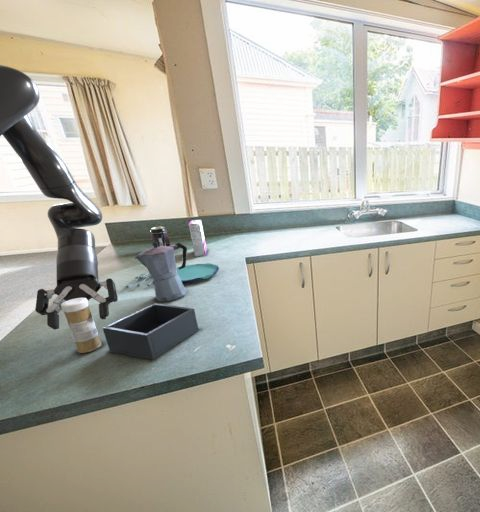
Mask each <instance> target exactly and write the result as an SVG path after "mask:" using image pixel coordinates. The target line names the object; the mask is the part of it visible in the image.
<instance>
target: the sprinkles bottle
mask: <svg viewBox="0 0 480 512" xmlns="http://www.w3.org/2000/svg"><path fill="white" fill-rule="evenodd" d="M62 302H63V301H62ZM61 308H62V310H61V311H62V312H63V314H64V315H65V319H66V322H67V324H68V328H69V331H70V334H71V336H72V339H73V342H75V346H76V348H77V350H76V351H77V352H78V353H79V354H85V353H90V352H93V351H96V350H98V349H99V348H100V347H102V345H103V344H102V341H101V339H100V336H99V332H98V329H97V326H96V323H95V320H94V317H93V315H92V312H91V310H90V303H89V301H88V300H87V299H86V298H75V299H71V300H68V301H65V302H63V303H62V304H61Z"/></svg>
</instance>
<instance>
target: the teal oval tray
mask: <svg viewBox="0 0 480 512" xmlns="http://www.w3.org/2000/svg"><path fill="white" fill-rule="evenodd" d="M178 267H179V266H176V268H177V274H178V276H179V277H180V279H181V281H182V283H187V282H194V281H198V280H203V279H204V280H207V279H209V278H212V277H213V276H214V275H215V274H217V272H218V271H219V270H220V266H218V264H215V263H210V262H208V263H197V264H187V265H185V268H183V269H180V270H179V269H178ZM143 277H144V279H142V278H143ZM150 278H151V281H150V282H149V283H148V284H147V285H146V286H147V287H150V286H151V284H153V283H152V282H153V278H152V276H151V275H150V273H149V272H148V273H140V274H139V275H138V276H137V275H136V276H135V277H134V279H133V280H132V281H131V282H130V283H128V284H127V285H126V286H125V288H126V289H130V287H131V286H132V285H134V284H135V283H136V282H137V281H139V280H141V279H142V280H141V281H139V282H138V283H137V284H136V286H137V287H141V285H143V284H144V283H145V281H147V280H148V279H150Z"/></svg>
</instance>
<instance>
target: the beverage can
mask: <svg viewBox="0 0 480 512" xmlns="http://www.w3.org/2000/svg"><path fill="white" fill-rule="evenodd" d="M150 236H151V240H152V243H154V242H156V243H158V247H161V246H170V245H171V242H170V238H169V233H168V230H167V228H166V227H165V226H154V227H151V230H150Z"/></svg>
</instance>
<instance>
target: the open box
mask: <svg viewBox="0 0 480 512" xmlns="http://www.w3.org/2000/svg"><path fill="white" fill-rule="evenodd" d="M198 326H199V325H198V320H197V315H196V311H195V308H193V307H185V306H177V305H171V304H164V303H163V304H162V303H155V302H154V303H152V304H150V305H148V306H146V307H143V308H141V309H139V310H138V311H135V312H133V313H131V314H129V315H127V316H125V317H123V318H121V319H119V320H116V321H114V322H112V323H110V324H108V325H106V326H104V327H102V332H103V334H104V337H105V341H106V343H107V347H108V349H109V352H112V353H116V354H121V355H126V356H132V357H136V358H142V359H147V360H156V359H157V358H158V357H160V356H161V355H163V354H165V353H166V352H168V351H169V350H171V349H172V348H174V347H175V346H177V345H178V344H180V343H181V342H183V341H184V340H186V339H187V338H189V337H190V336H192V335H193V334H195V333H196V332H198V331H199V327H198Z"/></svg>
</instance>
